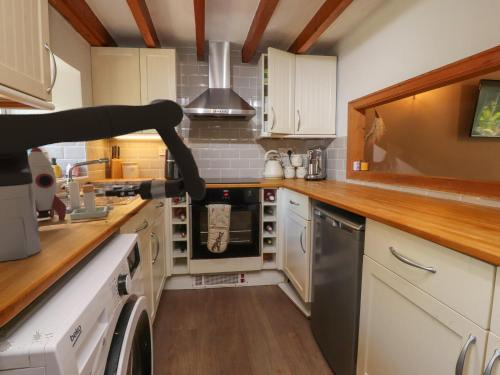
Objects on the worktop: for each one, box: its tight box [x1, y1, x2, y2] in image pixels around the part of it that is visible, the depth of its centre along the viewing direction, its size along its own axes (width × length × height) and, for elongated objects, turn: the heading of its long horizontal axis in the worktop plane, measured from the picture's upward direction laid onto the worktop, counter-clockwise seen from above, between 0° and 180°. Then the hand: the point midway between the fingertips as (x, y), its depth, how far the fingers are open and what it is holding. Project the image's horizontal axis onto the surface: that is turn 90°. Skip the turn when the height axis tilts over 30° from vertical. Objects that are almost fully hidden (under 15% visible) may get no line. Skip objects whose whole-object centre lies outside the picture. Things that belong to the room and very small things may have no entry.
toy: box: [28, 147, 67, 220], centre depth 94 cm, size 11×11×30 cm
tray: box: [69, 205, 109, 225], centre depth 103 cm, size 11×11×3 cm
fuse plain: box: [67, 181, 82, 213], centre depth 108 cm, size 4×4×12 cm
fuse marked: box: [81, 184, 97, 213], centre depth 102 cm, size 4×4×12 cm
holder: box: [37, 204, 115, 216], centre depth 109 cm, size 7×27×3 cm, turn 114°
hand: (109, 191), depth 103 cm, fingers open, 8 cm apart
